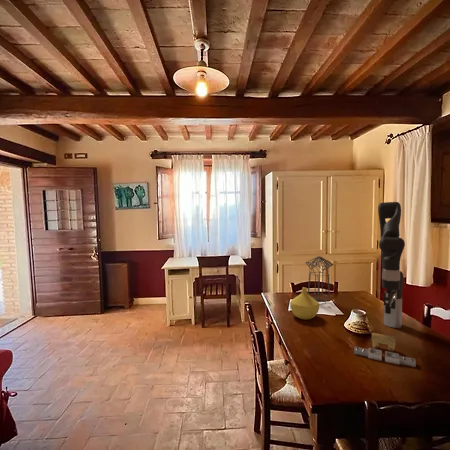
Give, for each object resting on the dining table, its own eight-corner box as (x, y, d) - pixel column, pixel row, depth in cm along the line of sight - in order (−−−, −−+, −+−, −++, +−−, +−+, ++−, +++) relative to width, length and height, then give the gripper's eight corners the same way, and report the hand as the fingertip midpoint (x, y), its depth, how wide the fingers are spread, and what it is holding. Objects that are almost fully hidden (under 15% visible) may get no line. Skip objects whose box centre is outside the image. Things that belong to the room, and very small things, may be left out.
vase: (315, 312, 194) (315, 284, 193) (322, 322, 175) (322, 292, 174) (288, 311, 195) (288, 284, 194) (292, 321, 177) (292, 291, 176)
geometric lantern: (303, 300, 218) (304, 255, 216) (321, 298, 223) (321, 254, 221) (316, 307, 203) (316, 258, 201) (334, 304, 208) (335, 257, 206)
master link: (371, 344, 146) (371, 332, 146) (395, 349, 141) (395, 336, 141) (371, 347, 144) (371, 334, 144) (395, 352, 139) (395, 339, 138)
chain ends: (354, 349, 142) (354, 344, 141) (414, 362, 129) (414, 356, 129) (353, 354, 137) (353, 349, 137) (415, 368, 125) (416, 362, 124)
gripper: (386, 274, 145) (385, 305, 146) (378, 280, 135) (377, 313, 136) (403, 276, 140) (402, 308, 141) (396, 282, 129) (395, 317, 131)
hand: (390, 310), depth 138 cm, fingers open, 8 cm apart
